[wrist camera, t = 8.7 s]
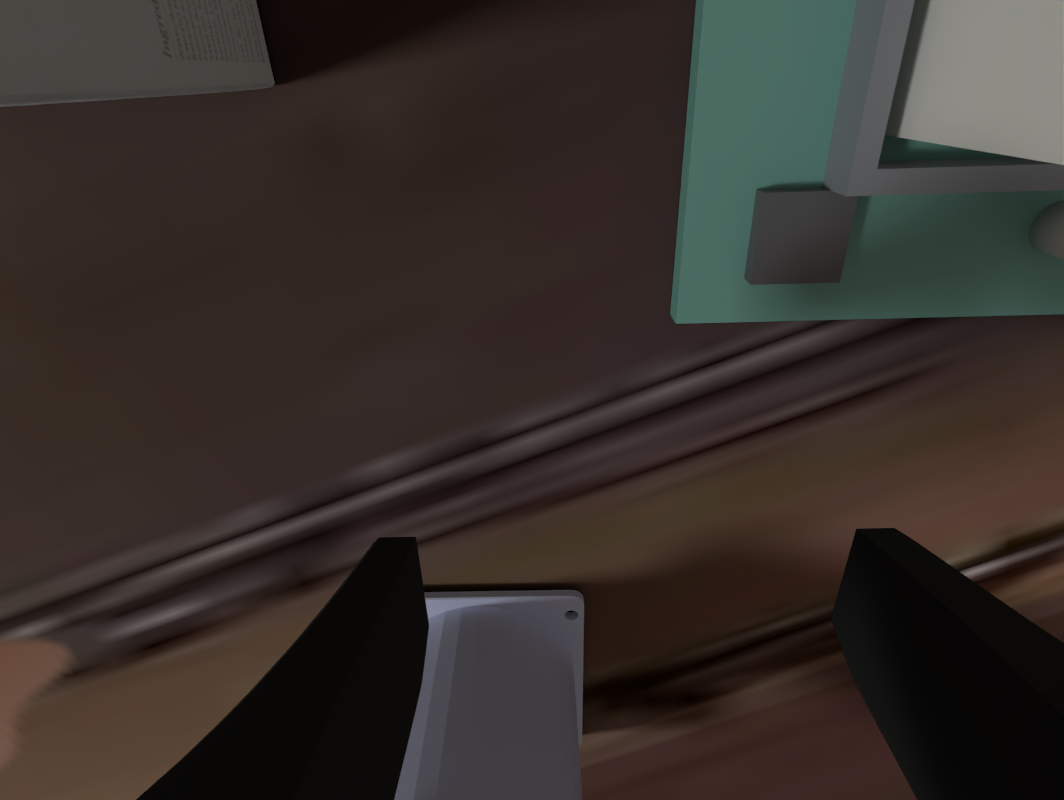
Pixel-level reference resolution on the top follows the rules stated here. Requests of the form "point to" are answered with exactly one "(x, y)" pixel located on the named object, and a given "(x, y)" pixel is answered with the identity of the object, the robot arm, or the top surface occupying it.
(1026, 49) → the plug
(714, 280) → the board
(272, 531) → the top surface
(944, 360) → the top surface
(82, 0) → the small box
